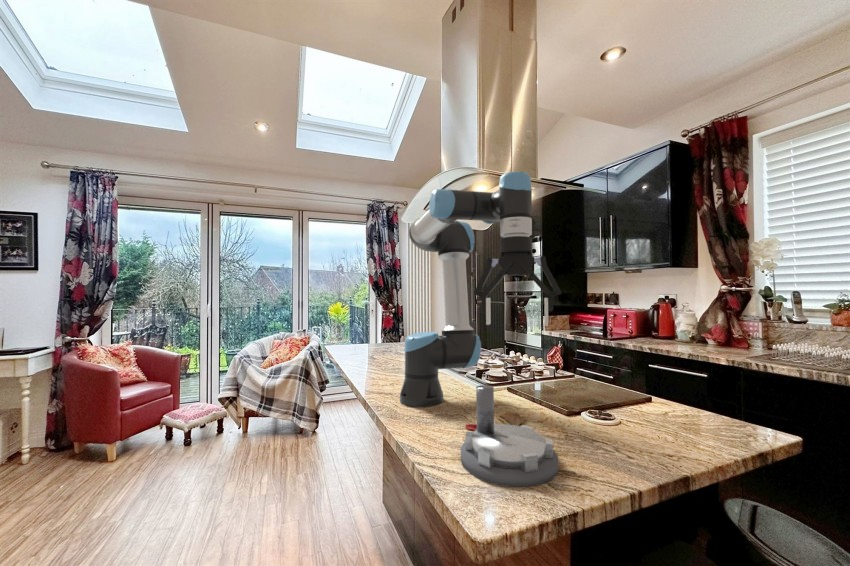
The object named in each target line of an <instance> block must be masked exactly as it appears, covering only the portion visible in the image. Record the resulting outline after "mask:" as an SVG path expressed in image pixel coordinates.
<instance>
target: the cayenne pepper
mask: <svg viewBox="0 0 850 566" xmlns="http://www.w3.org/2000/svg"><path fill="white" fill-rule="evenodd" d="M464 428H465V429H466V430H468V431H470V432H474V431H475V430H476V429H477V423H470V424H469V423H468V424H467V423H465V426H464Z"/></svg>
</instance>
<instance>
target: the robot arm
mask: <svg viewBox="0 0 850 566" xmlns="http://www.w3.org/2000/svg"><path fill="white" fill-rule="evenodd" d="M498 187H499V189H498V190H496V191H494V192H488V191H472V190H461V189H460V190H457V189H450V188H438V189H437V188H436V189H434V190H432V192H431V194H430V197H429V202H428V210H427V211H426V212H425V213H424V214H423V215H422V216H421V217H418V218H416V219H415V220H414V221H413V222H412V223H411V225H410V226H409V230H408V236H409V240H410V241H411V243H412V244H413V245H414V246H415V247H416V248H418V249H420V250H422V251H425V252H431V253H437V256H438V257H437V258H438V259H439V260H441V262H442V275H443V276H442V277H443V295H444V296H443V298H444V300H443V301H444V316H445V317H444V320H445V326H444V327H443V328H442V329H441V335H439V333H438V332H437V331H422V332H421V331H420V332H417V333H412V334H409V335H407V336H406V337H405V340H404V349H403V352H404V379H403V383H402V387H401V389H400V393H399V402H400V403H401V404H402V405H405V406H409V407H417V408H424V407H426V408H428V407H434V406H438V405H440V404H442V403H443V402H444V392H443V390H442V386H441V383H440V382H441V381H440V379H439V370H447V369H466V368H472V367H474V366H476V365H477V363H478V362H479V360H480V357H481V353H482V344H481V343H482V341H481V338H480V335H478V334H476V333H475V331H474V330H475V329H474V328H473V327H472V326H471V325H470V317H469V314H470V312H469V297H468V295H469V293H468V284H467V283H468V281H467V265H466V264H467V263H466V262H467V261H466V260H468V258H469V257H470V254H471V253H472V252H473V250H474V247H475V233H474V230H473V228H472V226H471V224H469V223H468V222H467V221H481V222H483V223H485V224H489V225H492V224H498V223H499V235H500V237H501V238H500V240H499V248H500V249H499V258H492V257H488V258H487V259H486V266H485V269H484V271H483V273H482V275H481V277H480V279H479V281H478V282H477V285H476V287H475V289H474V292H473V294H474V295H475V296H477V297H480V298H481V310H482V311H484V312H485V320H486V321H485V325H486V326H490V325H491V324H492V323H491V321H492V320H491V318H492V317H491V316H492V314H491V313H492V312H491V308H492V307H491V305H492V303H491V301H492V300H491V297H488V296H489V295H490V294H491V293H492V291H493V290H495V288H496V286H498V284H500V282H501V281H502V280H503V279H504V278H505V277H506V275H507V276H509V277H513V276H522V277H523V276H525V275H527V276H529V277H530V279H531V280H532V281H533V282H534V283H535V284H536V285H537V286H538V287H539V288H540V290H542V291H543V293H544V294H545V295H546V296H547V297H544V299H543V301H544V327H549V312H553V311H554V298H555V297H556V296H560V295H562V290H561V289H560V286H559V284H558V283H557V281H556V279H555V278H554V276H553V274H552V272H551V270H550V268H549V267H548V264H547V263H548V262H547V258H546V256H545V255H541V256H537V257H534V256H533V238H532V237H530V236H532V235H533V221H532V220H533V219H532V216H533V215H532V214H533V213H532V212H533V211H532V209H533V208H532V207H533V205H532V202H533V201H532V200H533V199H532V196H533V194H532V193H533V191H532V190H533V188H532V178H531V175H530V174H529V173H528V172H525V171H518V170H517V171H509V172H506V173H503V174H501V176H500V177H499V184H498ZM459 220H461V221H459ZM465 221H466V222H465ZM534 263H536V264H537V266H539V267H541V270H542V271H543V272H544V275H545V276H546V278H547V280H548V282H549V284H550V286H551V288H552V289H553V291H551V290H550V289H549V288H548V287H547V286H546V285H545V284H544V282H542V280H541V279H540V278H539V277H538V276H537V275H536V274H535V273H534V271H533V270H532V269H531V268H532V267H533V265H534ZM496 265H499V266H500V268H501V270H499V272H498V274H497V275H496V276H495V277H494V279H493V280H492V281H491V282H490V283H489V285H488V286H487V287H486V288H485V289H483V288H484V286H485V284H486V283H487V280H488V279H489V276H490V274H491V272H492V270H493V268H495V267H496ZM482 290H484V291H482Z"/></svg>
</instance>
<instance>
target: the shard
mask: <svg viewBox="0 0 850 566" xmlns="http://www.w3.org/2000/svg"><path fill="white" fill-rule="evenodd" d="M496 417H497V419H498V420H499V421H501V422H502V423H503V424H506V425H515V426H520V425H522V423H523V422H525V421H526V420H527V416H526V415H524V414H522V413H518V412H512V411H509V410H508V411H504V412H503V413H500V414H498V415H497V416H496Z"/></svg>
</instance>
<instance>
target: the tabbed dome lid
mask: <svg viewBox="0 0 850 566" xmlns="http://www.w3.org/2000/svg"><path fill="white" fill-rule="evenodd" d="M475 389H476V392H475V393H476V395H475V396H476V424H477V429H476V430H475V431H469V430H468V431H466V432H465V436H464V439H465V441H464V443H465V450H472V452H473V454H474V455H475V457H477V458H478V464H480V465H482V466H485V467H487V468H491V467H493V466H496V467H501V468H508V469H522V470H523V471H524V472H531V471H537V470H538V465H540V464H541V463H543V462H544V461H545V459H546V458H552V459H553V450H554V444H553V440H552V438H545V436H543V435H542V434H541V433H539V432H537V431H536V430H534V429H535V428H534V427H532V426H529V425H526V424H521V425H519V426H515V425H506V424H505V423H501V424H499V423H498V424H497V423H496V422H495V407H494V406H495V403H494V402H495V397H494V395H495V393H494V389H495V388H494V386H492V385H486V384H482V385H477V386H476V388H475Z"/></svg>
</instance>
